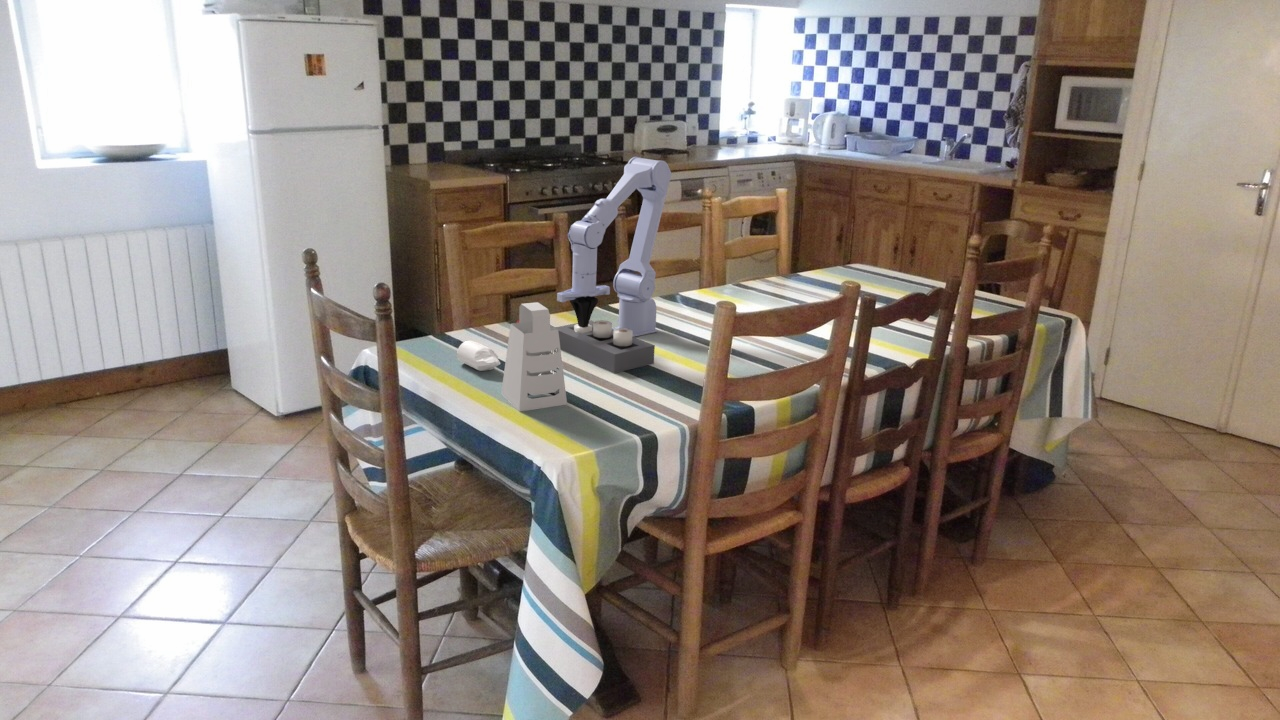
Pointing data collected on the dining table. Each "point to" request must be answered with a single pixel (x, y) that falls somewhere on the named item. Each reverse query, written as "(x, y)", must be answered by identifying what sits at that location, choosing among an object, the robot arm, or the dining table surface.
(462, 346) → the roll
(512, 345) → the grater
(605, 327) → the button middle
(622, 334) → the button
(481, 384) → the dining table surface
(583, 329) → the button
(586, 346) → the mount
